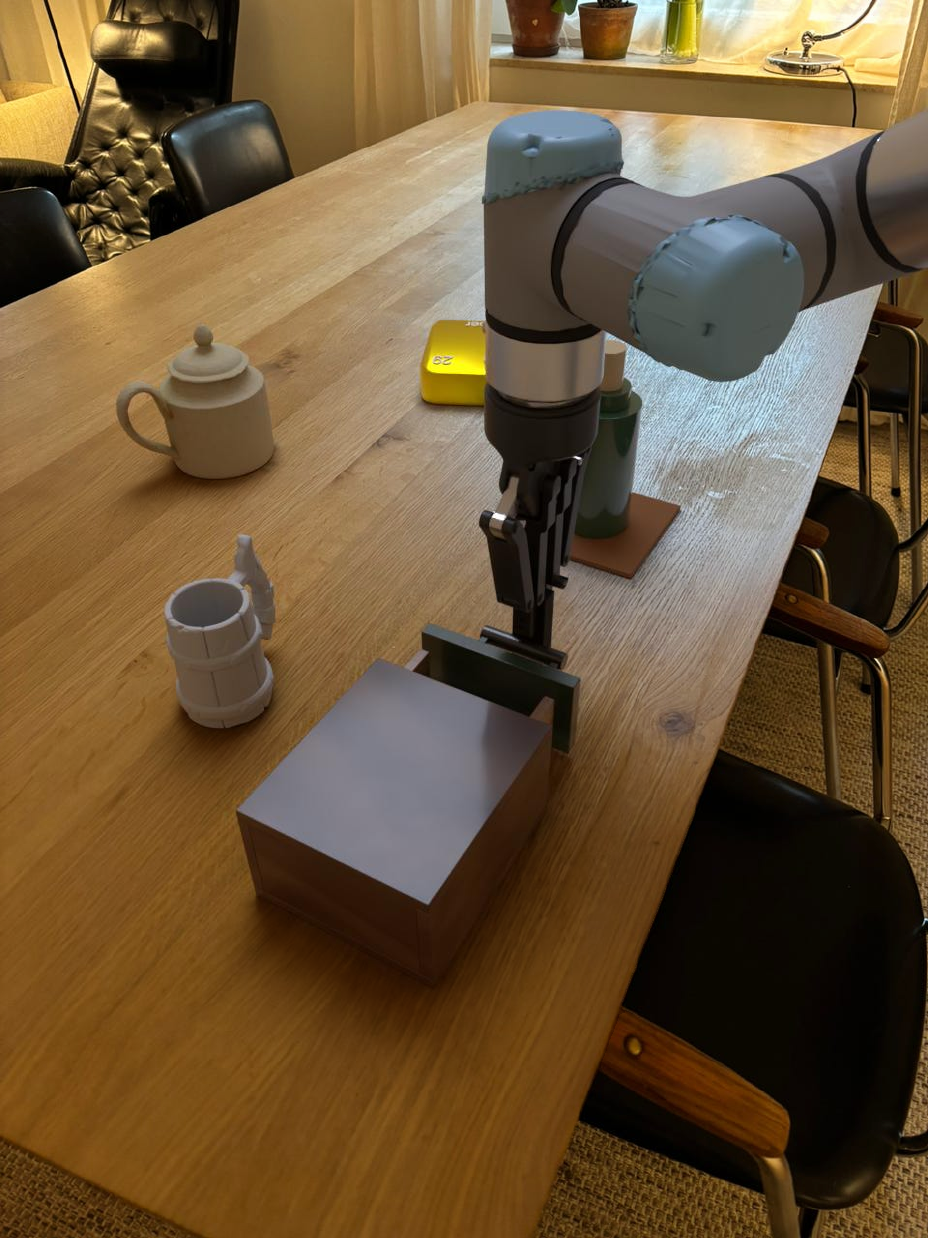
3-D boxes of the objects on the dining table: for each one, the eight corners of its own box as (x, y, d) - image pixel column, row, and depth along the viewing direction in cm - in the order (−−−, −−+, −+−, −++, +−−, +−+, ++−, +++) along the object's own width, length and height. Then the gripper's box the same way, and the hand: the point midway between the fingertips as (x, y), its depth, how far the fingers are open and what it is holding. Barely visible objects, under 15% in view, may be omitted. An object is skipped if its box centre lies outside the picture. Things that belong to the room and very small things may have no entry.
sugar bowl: (213, 508, 101) (184, 372, 92) (129, 483, 105) (93, 350, 95) (294, 441, 111) (276, 312, 102) (215, 420, 115) (190, 294, 106)
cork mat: (679, 509, 100) (680, 505, 100) (630, 578, 92) (631, 574, 91) (563, 476, 105) (563, 472, 105) (506, 539, 97) (506, 535, 96)
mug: (161, 718, 79) (126, 600, 71) (238, 626, 87) (214, 512, 79) (244, 742, 76) (218, 624, 69) (316, 647, 85) (299, 531, 77)
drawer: (458, 656, 82) (456, 591, 78) (597, 709, 77) (604, 643, 73) (325, 814, 70) (314, 747, 65) (481, 888, 65) (481, 822, 61)
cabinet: (385, 741, 76) (377, 657, 71) (546, 810, 71) (552, 725, 65) (255, 895, 66) (234, 810, 60) (433, 989, 61) (428, 906, 55)
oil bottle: (641, 516, 98) (663, 343, 87) (604, 547, 95) (622, 370, 83) (586, 493, 102) (600, 324, 90) (548, 522, 98) (557, 349, 86)
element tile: (549, 353, 128) (551, 317, 125) (545, 409, 116) (547, 371, 113) (434, 349, 129) (433, 314, 126) (419, 404, 118) (417, 367, 115)
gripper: (536, 332, 69) (526, 595, 85) (440, 411, 61) (448, 688, 76) (636, 354, 66) (607, 623, 82) (550, 441, 58) (536, 723, 73)
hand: (531, 654), depth 79 cm, fingers closed
